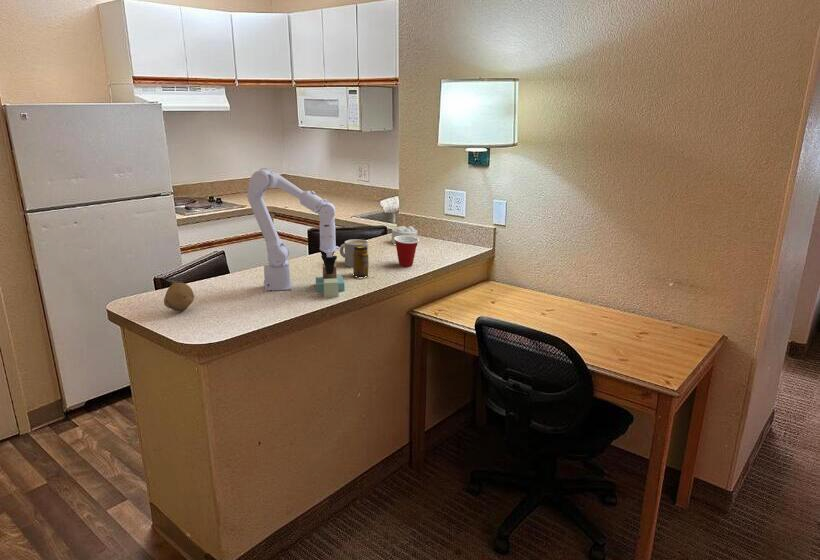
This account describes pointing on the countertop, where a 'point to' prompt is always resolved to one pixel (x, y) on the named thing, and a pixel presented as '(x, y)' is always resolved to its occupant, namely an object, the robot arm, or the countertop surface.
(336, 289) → the sage block
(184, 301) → the brown round lump
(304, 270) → the countertop surface
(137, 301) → the countertop surface
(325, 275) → the walnut block
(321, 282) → the teal base block
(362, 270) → the condiment
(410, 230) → the lumpy-topped squat cylinder
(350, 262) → the coffee mug
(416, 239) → the plastic cup
